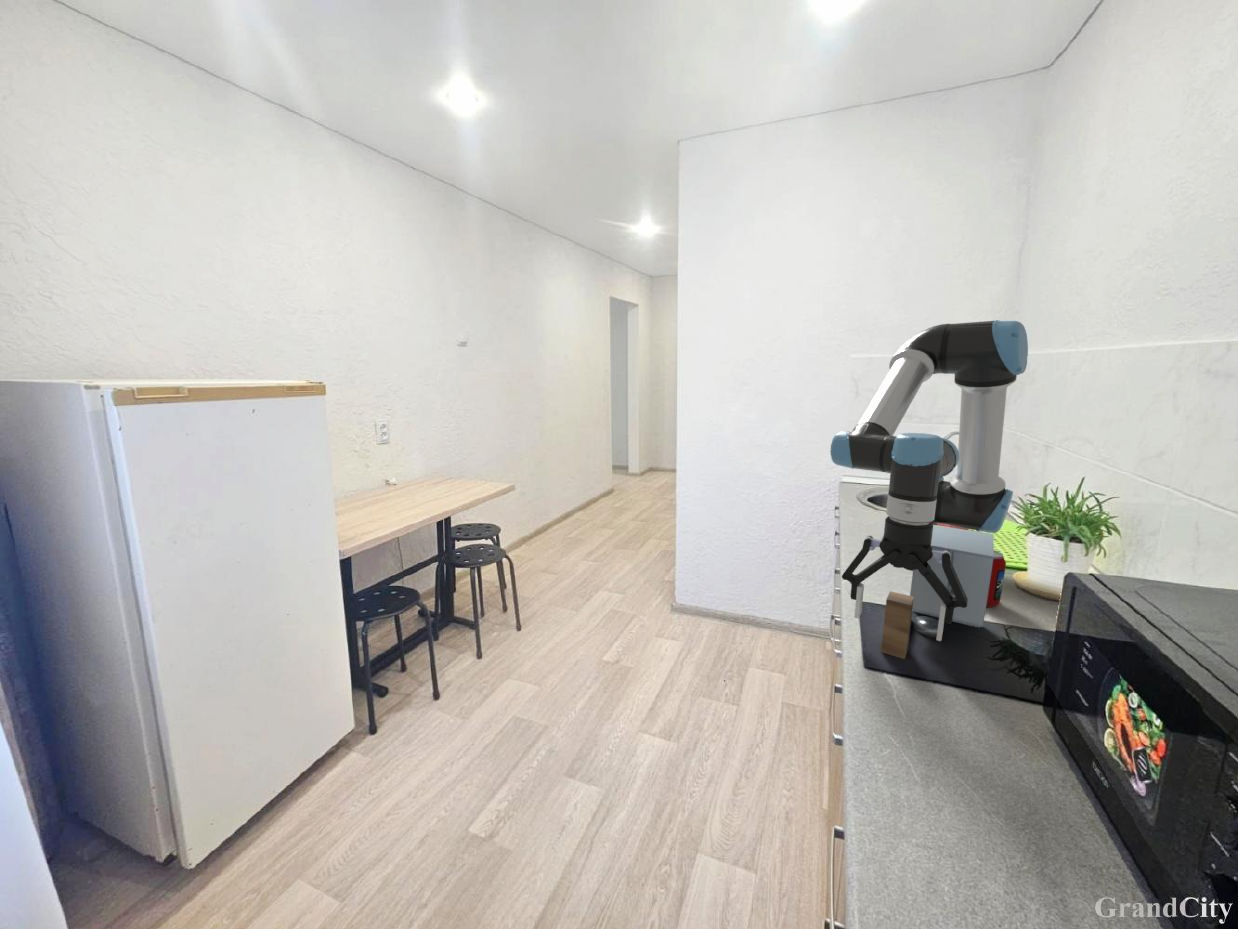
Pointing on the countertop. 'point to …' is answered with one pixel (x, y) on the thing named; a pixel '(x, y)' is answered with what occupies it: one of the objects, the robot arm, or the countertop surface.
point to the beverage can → (996, 579)
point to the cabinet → (958, 574)
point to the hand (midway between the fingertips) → (896, 626)
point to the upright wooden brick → (897, 624)
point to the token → (926, 626)
